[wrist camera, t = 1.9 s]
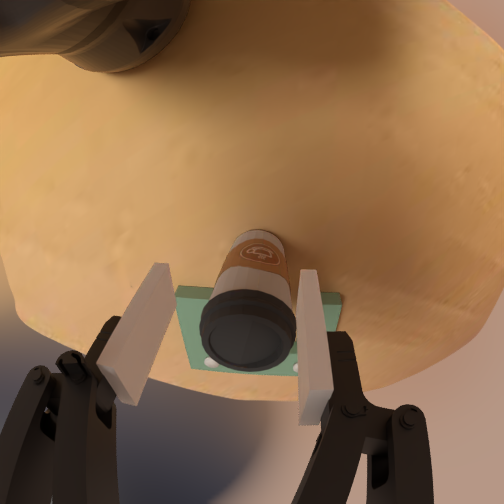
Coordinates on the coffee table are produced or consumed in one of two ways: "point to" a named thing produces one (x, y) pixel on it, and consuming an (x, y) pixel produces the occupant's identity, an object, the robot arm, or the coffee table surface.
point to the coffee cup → (250, 307)
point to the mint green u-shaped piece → (189, 320)
